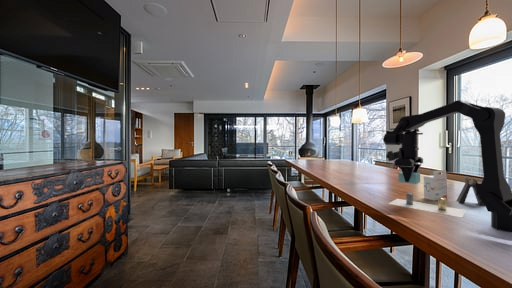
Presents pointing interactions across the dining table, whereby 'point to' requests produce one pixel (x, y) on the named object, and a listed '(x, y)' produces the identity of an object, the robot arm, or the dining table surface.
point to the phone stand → (466, 189)
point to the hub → (442, 204)
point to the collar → (413, 179)
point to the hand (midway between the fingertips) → (409, 180)
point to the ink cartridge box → (435, 185)
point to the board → (427, 206)
